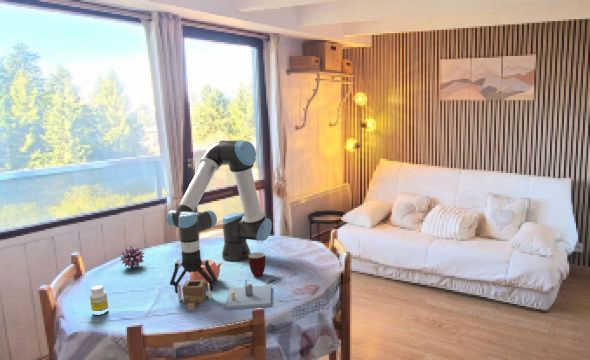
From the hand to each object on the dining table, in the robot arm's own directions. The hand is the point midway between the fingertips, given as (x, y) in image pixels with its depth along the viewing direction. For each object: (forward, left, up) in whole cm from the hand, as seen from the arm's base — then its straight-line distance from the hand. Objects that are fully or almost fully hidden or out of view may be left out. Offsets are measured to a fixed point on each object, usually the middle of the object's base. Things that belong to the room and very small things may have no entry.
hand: (195, 299), depth 191 cm
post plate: (+2, +23, 0) cm, 23 cm away
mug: (-21, +26, 0) cm, 33 cm away
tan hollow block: (+3, 0, 0) cm, 3 cm away
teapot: (-16, +1, 0) cm, 16 cm away
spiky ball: (-43, -39, 0) cm, 58 cm away
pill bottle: (+7, -37, 0) cm, 38 cm away
